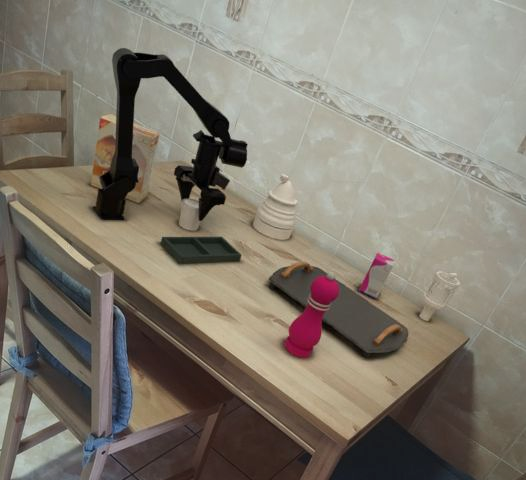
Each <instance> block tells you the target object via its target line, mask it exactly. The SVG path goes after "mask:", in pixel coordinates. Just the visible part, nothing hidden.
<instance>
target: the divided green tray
mask: <svg viewBox="0 0 526 480" xmlns="http://www.w3.org/2000/svg"><path fill="white" fill-rule="evenodd" d="M160 245H161V246H162V247H163V248H164V250H166V252H167V253H168V254H169V255H170V256H171V257H172V258H173V259H174V260H175V261H176V262H177V263H178V264H179V265H191V264H209V263H210V264H213V263H214V264H216V263H234V262H235V263H238V262H239V263H240V261H241V258H242V254H241V253H240V252H239V251H238V250H237V249H236V247H234V246H233V245H232V244H231V243H230V242H229V241H228V240H226V238H224V237H223V236H161V239H160Z"/></svg>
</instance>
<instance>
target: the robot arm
mask: <svg viewBox="0 0 526 480" xmlns="http://www.w3.org/2000/svg"><path fill="white" fill-rule="evenodd" d="M111 58H112V59H111V62H112V63H111V64H112V72H113V79H114V83H115V88H116V110H115V111H116V113H115V114H116V115H115V116H116V141H115V153H114V155H113V158H112V161H111V165H110V170H109V171H108V172H106V173H105V174H103V175H101V176H100V177H99V179H100V183H101V185H102V189H100V188H98V189H97V195H96V201H95V205H93V206H92V210H93V211H94V212H95V213H96V214H97V216H98V217H99V218H100V219H101V220H116V221H117V220H119V221H120V220H122V221H123V220H125V216H124V213H125V208H126V203H127V199H126V198H125V197H126V196H127V194H128V193H129V192H131V191H132V190H133V189H134V188H135V186H136V182H137V183H139V182H138V172H139V166H138V164H137V162H136V160H135V159H132V143H133V124H134V123H135V118H134V117H135V103H136V97H137V93H138V90H139V88H140V85H141V81H142V79H153V78H161V77H162V78H164V79H165V80H166V81H167V82H168V83H169V84H170V86H172V88H174V90H175V91H176V92H177V93H178V94H179V95H180V96H181V97H182V98H183V100H184V101H185V102H186V103H187V104H188V105H189V107H191V109H193V112H194V113H195V115H196V116H197V118H198V120H199V121H200V122H201V124H202V126H203V127H204V129H205V130H206V131H207V132H208V133H209V134H205V132H204V131H203V130H202V129H200V130H199V131H197V132H195V133H193V134H192V137H193V139H194V140H195V141H196V142H198V146H197V150H196V151H197V152H196V154H195V158H191V161H190V163H191V164H192V165H193V166H190V165H179V164H178V165H177V166H176V167H174V171H173V175H174V176H175V181H176V183H177V187H178V192H179V196H180V201H181V202H182V200H183V199H186V198H189V199H190V196H191V193H192V190H193V188H194V187H197V188H198V189H199V190H200V193H199V194H200V195H199V196H200V197H198V201H199V211H198V217H199V221H201V222H203V221H204V220H205V218H206V217H207V216H208V215H209V213H210V212H211V210H212V209H213V208H214V207H216V206H221V205H222V206H223V205H225V203H226V200H227V196H226V194H225V193H224V192H223V191H225V190H226V188H227V187H228V185H229V184H230V182H231V180H230V179H229V178H227V177H226V176H225V175H224V174H222V173H221V168H220V167H218V166H217V163H218V159H219V160H220V162H221V164H223V165H226V166H227V165H228V166H232V167H235V168H236V167H237V168H240V169H242V168H243V167H245V165H246V164H247V161H248V143H247V141H245V140H238V139H234V138H232V137H231V134H230V132H229V129H230V124H231V123H230V120H229V119H228V117H226V115H224V113H222V111H221V110H220V109H218V108H217V107H216V106H214V105H213V104H212V103H210V101H208V100H206V99H205V98H204V97H203V96H202V95H201V94H200V93H199V92H198V91H197V89H196V88H195V87H194V86H193V85H192V83H191V82H190V81H189V80H188V79H187V78H186V77H185V76H184V74H182V72H181V71H180V70H179V69H178V68H177V67H176V66H175V64H174V62H173V60H172V59H171V58H169V56H168V55H166V54H163V53H162V54H154V53H153V54H152V53H146V52H136V51H135V52H134V51H132V50H131V49H129V48H127V47H121V48H117V50H115V51H114V52H113V54H112V57H111ZM216 139H219V140H216ZM210 186H211V187H210ZM212 187H213V188H212ZM215 187H219V188H215ZM220 188H221V190H223V191H221V190H220Z"/></svg>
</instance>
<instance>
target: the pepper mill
mask: <svg viewBox="0 0 526 480" xmlns="http://www.w3.org/2000/svg"><path fill="white" fill-rule="evenodd" d="M327 273H328V274H327V276H320V277H317V278H316V279H315V280H314V281H313V282H312V284H311V287H310V290H311V294H310V295H309V298H308V299H307V301H308V305H307V307H306V308H305V309H304V310H303V312H301V314H299V315H298V316H297V317H296V318H295V319H294V320H293V321H292V322H291V324H290V326H288V336H287V337H286V339H285V342H284V347H285V349H286V350H287V352H288V353H290V354H291V355H293V356H295V357H298V358H308V357H309V356H311V354H312V352H313V350H314V347H315V346H317V345H318V344H319V342H320V341H321V339H322V332H323V330H322V329H323V327H322V322H323V320H322V318H323V315H324V313H325V312H326V311H327V310H329V308H330V306H331V302H333V301H334V300H335V299H336V298H337V297H338V294H339V286H338V284H337V282H336V281H335V280H334V279H336V273H335V272H333V271H329V272H327Z"/></svg>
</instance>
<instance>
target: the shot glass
mask: <svg viewBox="0 0 526 480" xmlns="http://www.w3.org/2000/svg"><path fill="white" fill-rule="evenodd" d="M198 211H199V200H197V199H193V198H190V197H189V198H186V199H183V200H182V201H181V205H180V213H179V220H178V225H179V227H181V228H182V229H185V230H187V231H193V232H194V231H197V230H199V227H200V224H201V222H202V221H199V217H198Z"/></svg>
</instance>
